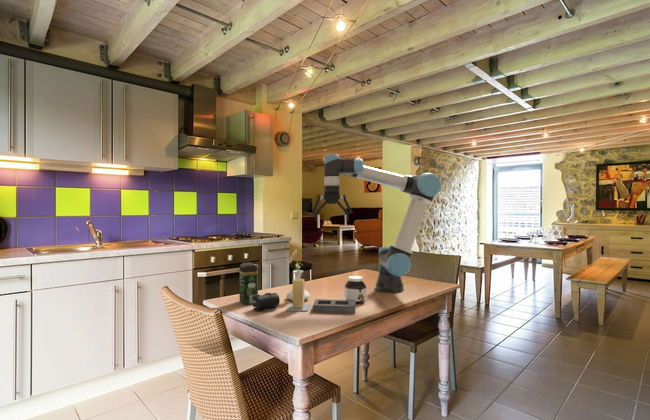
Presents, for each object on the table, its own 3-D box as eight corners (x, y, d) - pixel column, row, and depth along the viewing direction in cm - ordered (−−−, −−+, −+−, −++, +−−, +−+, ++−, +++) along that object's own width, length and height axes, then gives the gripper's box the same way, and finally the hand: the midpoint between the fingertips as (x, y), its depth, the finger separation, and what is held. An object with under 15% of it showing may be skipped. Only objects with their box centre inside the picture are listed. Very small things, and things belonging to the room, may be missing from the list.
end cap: (259, 313, 146) (259, 297, 146) (251, 310, 151) (251, 294, 151) (279, 309, 153) (279, 293, 152) (271, 305, 158) (271, 290, 158)
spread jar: (347, 304, 160) (348, 279, 160) (340, 298, 171) (340, 274, 171) (372, 302, 163) (372, 278, 163) (363, 296, 174) (363, 273, 174)
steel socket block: (355, 306, 156) (355, 300, 156) (355, 313, 146) (355, 306, 146) (315, 305, 158) (315, 299, 158) (312, 312, 148) (312, 305, 148)
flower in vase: (290, 295, 175) (290, 246, 175) (312, 297, 173) (312, 246, 173) (282, 302, 162) (282, 249, 162) (305, 304, 160) (305, 250, 160)
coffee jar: (237, 301, 165) (237, 262, 165) (253, 299, 169) (253, 260, 169) (243, 306, 157) (243, 265, 157) (260, 303, 161) (260, 263, 161)
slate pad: (310, 305, 158) (310, 304, 158) (307, 311, 149) (307, 310, 149) (290, 305, 158) (290, 303, 158) (286, 311, 150) (286, 309, 150)
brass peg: (304, 305, 155) (304, 279, 155) (302, 308, 151) (302, 281, 151) (294, 305, 156) (294, 278, 156) (292, 308, 152) (292, 280, 151)
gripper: (306, 185, 172) (306, 228, 172) (356, 184, 169) (357, 228, 170) (308, 186, 179) (308, 227, 179) (356, 185, 177) (357, 227, 177)
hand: (332, 227), depth 174 cm, fingers open, 13 cm apart
